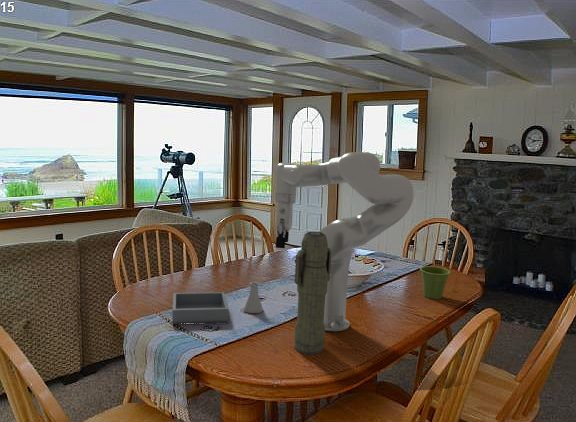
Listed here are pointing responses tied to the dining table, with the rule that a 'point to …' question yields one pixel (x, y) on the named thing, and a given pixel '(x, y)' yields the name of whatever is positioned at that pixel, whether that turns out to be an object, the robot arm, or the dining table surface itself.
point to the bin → (200, 308)
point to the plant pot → (434, 281)
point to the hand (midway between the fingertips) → (282, 244)
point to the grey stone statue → (311, 292)
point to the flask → (253, 300)
